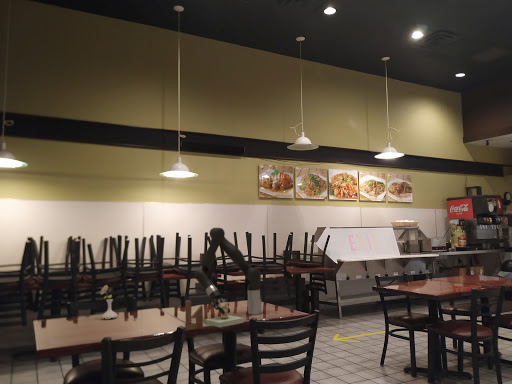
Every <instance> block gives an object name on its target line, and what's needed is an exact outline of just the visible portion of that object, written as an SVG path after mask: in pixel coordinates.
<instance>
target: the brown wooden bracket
mask: <svg viewBox="0 0 512 384" xmlns="http://www.w3.org/2000/svg"><path fill="white" fill-rule="evenodd" d="M184 303H185V307H184V308H185V309H184V310H185V324H184V328H185V327H186V330H185V331H186V332H187V331H194V330H195V331H196V330H202V329H204V323H203V322H204V321H203V320H204V315H203V313H204V312H203V309H204V308H203V307H204V306H203V305H200V306H199V307H198V308H197V310H195V312H194V313H193V314H192V300H191V299H190V300H185V302H184ZM192 319H195V322H192Z"/></svg>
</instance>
